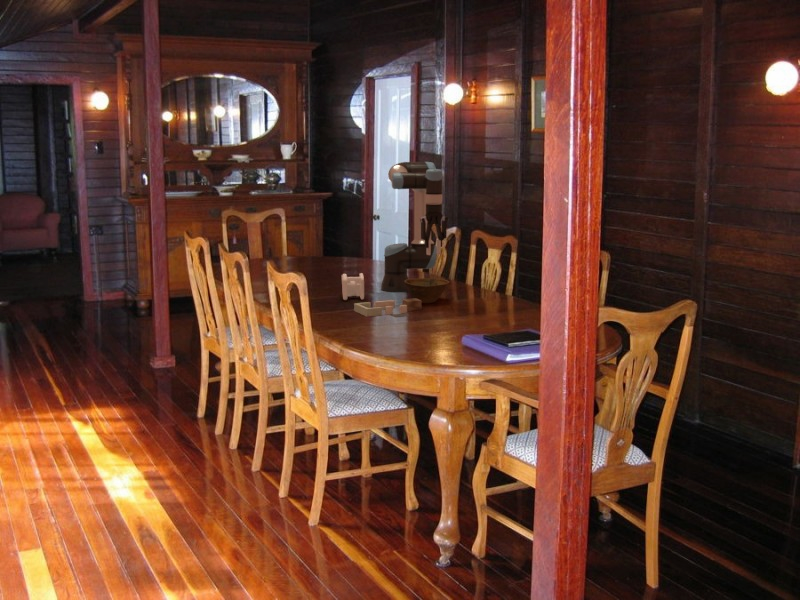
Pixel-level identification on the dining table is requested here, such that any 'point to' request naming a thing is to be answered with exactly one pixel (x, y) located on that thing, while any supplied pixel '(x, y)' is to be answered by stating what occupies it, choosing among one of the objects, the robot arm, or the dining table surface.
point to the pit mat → (400, 315)
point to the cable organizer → (353, 286)
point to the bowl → (426, 288)
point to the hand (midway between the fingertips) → (433, 254)
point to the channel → (390, 306)
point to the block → (412, 304)
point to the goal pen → (367, 309)
